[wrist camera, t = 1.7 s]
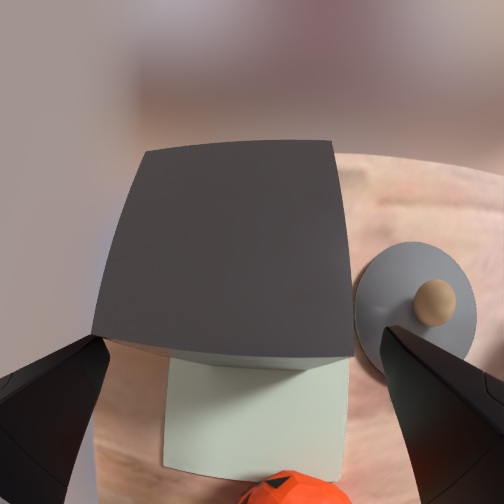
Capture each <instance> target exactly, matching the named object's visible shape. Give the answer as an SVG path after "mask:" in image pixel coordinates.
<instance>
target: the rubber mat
mask: <svg viewBox="0 0 504 504" xmlns="http://www.w3.org/2000/svg"><path fill="white" fill-rule="evenodd" d="M348 381H349V358H348V359H344V360H341V361H338V362H335V363H331V364H328V365H324V366H321V367H317V368H314V369H310V370H265V369H246V368H232V367H221V366H210V365H204V364H199V363H194V362H189V361H185V360H180V359H176V358H171V357H170V364H169V374H168V385H167V397H166V411H165V428H164V453H163V466H165V467H169V468H173V469H177V470H181V471H186V472H190V473H195V474H200V475H206V476H211V477H217V478H224V479H232V480H240V481H250V482H259V481H260V482H261V481H263V480H265V479H267V478H269V477H271V476H273V475H275V474H277V473H278V471H279V472H280V471H282V470H295V471H297V472H299V473H302V474H305V475H309V476H312V477H315V478H318V479H321V480H323V481H326V482H335V481H340V477H341V470H342V462H343V453H344V444H345V433H346V421H347V405H348ZM272 474H273V475H272ZM270 475H271V476H270ZM268 476H269V477H268ZM266 477H267V478H266ZM264 478H265V479H264ZM262 479H263V480H262Z"/></svg>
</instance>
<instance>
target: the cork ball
mask: <svg viewBox="0 0 504 504" xmlns="http://www.w3.org/2000/svg"><path fill="white" fill-rule="evenodd" d="M455 305H456V297H455V293H454V291H453V289H452V288H451V286H450V285H449V284H448V283H446V282H445V281H442V280H438V279H434V280H429V281H427V282H425V283H424V284H422V285H421V286H420V288H419V289H418V290H417V292H416V294H415V297H414V301H413V308H414V312H415V315H416V317H417V318H418V320H419V321H420V322H421V323H423V324H424V325H426V326H430V327H436V326H440V325H442V324H444V323H446V322H447V321H448V320H449V319H450V317H451V316H452V314H453V312H454V310H455Z"/></svg>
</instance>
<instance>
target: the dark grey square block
mask: <svg viewBox="0 0 504 504" xmlns="http://www.w3.org/2000/svg"><path fill="white" fill-rule="evenodd" d="M91 334H92V335H95V336H98V337H101V338H104V339H107V340H110V341H113V342H116V343H120V344H123V345H126V346H130V347H133V348H137V349H140V350H144V351H148V352H151V353H155V354H159V355H163V356H167V357H171V358H176V359H180V360H185V361H189V362H194V363H199V364H204V365H210V366H221V367H232V368H246V369H265V370H310V369H314V368H317V367H321V366H324V365H328V364H331V363H335V362H338V361H341V360H344V359H348V358H351V357H354V315H353V295H352V280H351V268H350V257H349V248H348V239H347V230H346V222H345V215H344V208H343V201H342V195H341V189H340V183H339V177H338V171H337V166H336V161H335V156H334V151H333V146H332V141H325V140H261V141H237V142H222V143H211V144H200V145H190V146H182V147H174V148H167V149H160V150H153V151H147V152H145V154H144V157H143V159H142V161H141V164H140V166H139V168H138V171H137V174H136V176H135V178H134V181H133V183H132V186H131V188H130V191H129V194H128V197H127V199H126V202H125V205H124V208H123V210H122V213H121V217H120V219H119V222H118V225H117V228H116V231H115V235H114V238H113V241H112V245H111V248H110V251H109V255H108V259H107V262H106V266H105V270H104V274H103V278H102V282H101V286H100V291H99V295H98V299H97V304H96V309H95V314H94V319H93V325H92V331H91Z"/></svg>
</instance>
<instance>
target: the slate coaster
mask: <svg viewBox="0 0 504 504" xmlns="http://www.w3.org/2000/svg"><path fill="white" fill-rule="evenodd" d="M434 279H438V280H442V281H445V282H446V283H448V284H449V285H450V286H451V288H452V289H453V291H454V293H455V297H456V305H455V310H454V312H453V314H452V316H451V317H450V319H449V320H448V321H447V322H446V323H444V324H442V325H440V326H436V327H430V326H426V325H424V324H423V323H421V322H420V321H419V320H418V318H417V317H416V315H415V312H414V308H413V301H414V297H415V294H416V292H417V290H418V289H419V288H420V286H421V285H422V284H424V283H425V282H427V281H429V280H434ZM354 322H355V328H356V333H357V337H358V339H359V342H360V345H361V347H362V349H363V351H364V353H365V355H366V356H367V358H368V359H369V361H370V362H371V363H372V364H373V365H374V367H375V368H376V369H377V370H378V371H380V372H381V373H382V374H383V375H385V374H384V369H383V365H382V361H381V358H380V352H379V349H380V343H381V338H382V333H383V329H384V327H386V326H389V325H395V324H397V325H400V326H401V327H403V328H405V329H407V330H409V331H411V332H413V333H414V334H416V335H418V336H420V337H422V338H424V339H425V340H427V341H429V342H431V343H433V344H435V345H436V346H438V347H440V348H442V349H444V350H446V351H448V352H449V353H451V354H453V355H455V356H457V357H459V358H460V359H462V360H464V358H465V357H466V355H467V354H468V351H469V349H470V347H471V345H472V342H473V339H474V335H475V331H476V322H477V311H476V302H475V297H474V294H473V290H472V287H471V285H470V283H469V280H468V279H467V277H466V275H465V273H464V272H463V270H462V269H461V267H460V266H459V265H458V264H457V263H456V262H455V261H454V260H453V259H452V258H451V257H450V256H449V255H448V254H446V253H445V252H443V251H442V250H440V249H438V248H436V247H434V246H432V245H429V244H425V243H421V242H404V243H399V244H396V245H393V246H391V247H389V248H387V249H385V250H384V251H383V252H381V253H380V254H379V255H377V257H376V258H375V259H374V260H373V261H372V262H371V263H370V265H369V266H368V267H367V269H366V270H365V272H364V274H363V276H362V277H361V279H360V282H359V284H358V287H357V291H356V295H355V301H354Z"/></svg>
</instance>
